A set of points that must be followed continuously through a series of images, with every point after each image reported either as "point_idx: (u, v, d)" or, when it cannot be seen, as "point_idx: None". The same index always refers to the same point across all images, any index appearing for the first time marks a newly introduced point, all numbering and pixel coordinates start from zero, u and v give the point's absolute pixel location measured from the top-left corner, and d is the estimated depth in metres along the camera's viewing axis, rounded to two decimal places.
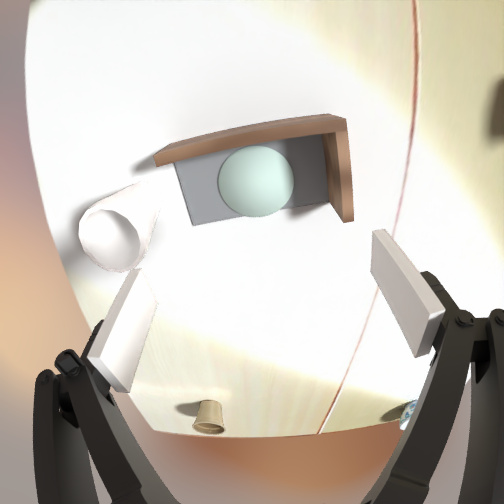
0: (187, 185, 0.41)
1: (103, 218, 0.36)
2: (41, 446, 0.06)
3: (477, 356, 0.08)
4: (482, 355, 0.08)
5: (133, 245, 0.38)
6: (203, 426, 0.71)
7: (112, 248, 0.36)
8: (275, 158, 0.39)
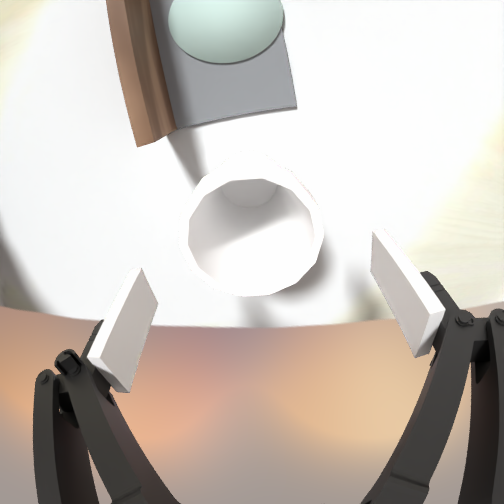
0: (227, 108, 0.25)
1: (243, 245, 0.25)
2: (41, 446, 0.06)
3: (477, 356, 0.08)
4: (482, 355, 0.08)
5: (295, 203, 0.22)
6: None
7: (290, 241, 0.22)
8: None
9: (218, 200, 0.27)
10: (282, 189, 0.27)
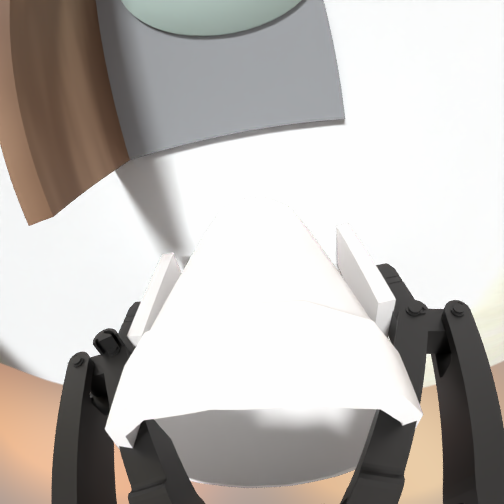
0: (216, 119, 0.13)
1: None
2: (65, 432, 0.07)
3: (433, 347, 0.09)
4: (439, 347, 0.09)
5: None
6: None
7: None
8: None
9: None
10: None
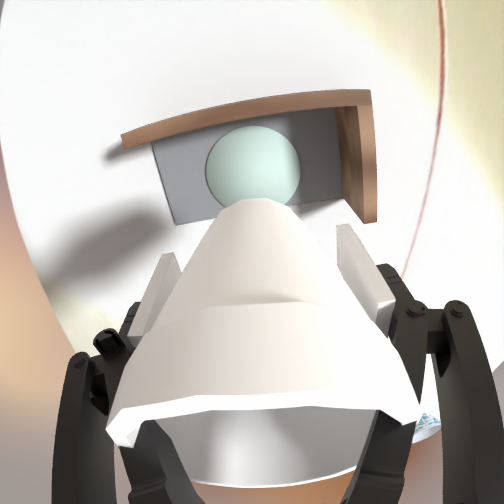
0: (168, 175, 0.33)
1: None
2: (64, 432, 0.07)
3: (433, 347, 0.09)
4: (439, 347, 0.09)
5: None
6: None
7: None
8: (277, 142, 0.30)
9: None
10: None
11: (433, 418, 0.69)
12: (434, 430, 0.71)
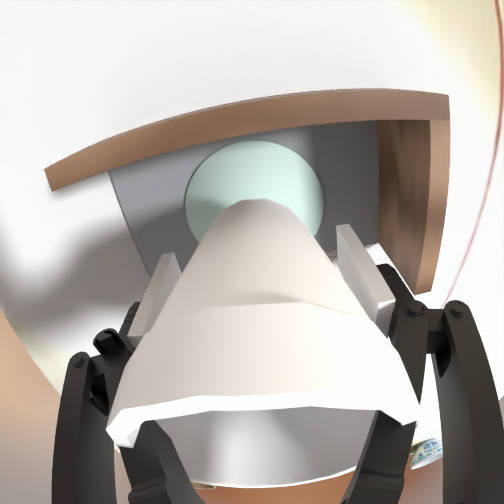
0: (133, 213, 0.23)
1: None
2: (65, 432, 0.07)
3: (433, 347, 0.09)
4: (439, 347, 0.09)
5: None
6: None
7: None
8: (292, 165, 0.20)
9: None
10: None
11: None
12: (442, 454, 0.62)
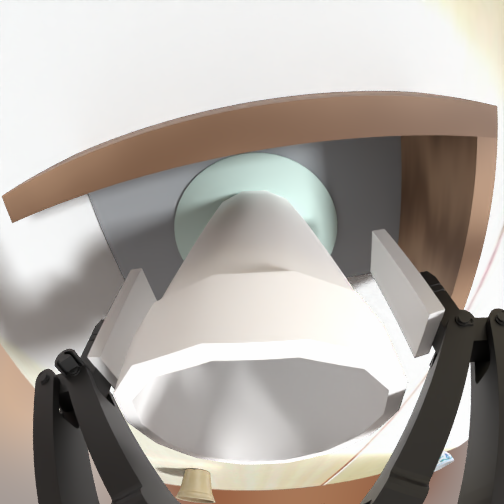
0: (116, 237, 0.19)
1: (246, 362, 0.14)
2: (41, 446, 0.06)
3: (476, 356, 0.08)
4: (482, 355, 0.08)
5: None
6: None
7: (326, 375, 0.12)
8: (301, 183, 0.17)
9: None
10: None
11: (445, 454, 0.55)
12: (444, 463, 0.58)
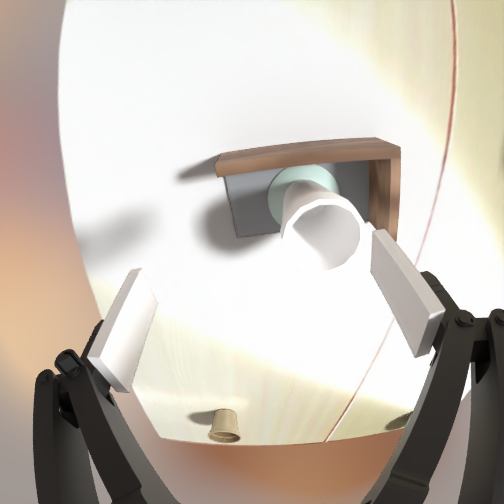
0: (235, 197, 0.42)
1: (307, 244, 0.37)
2: (41, 446, 0.06)
3: (477, 356, 0.08)
4: (482, 355, 0.08)
5: (343, 218, 0.34)
6: (217, 435, 0.70)
7: (340, 242, 0.34)
8: (325, 177, 0.40)
9: None
10: (330, 207, 0.39)
11: None
12: None
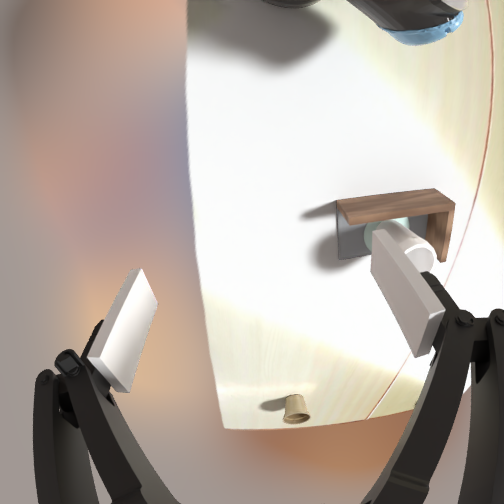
0: (343, 231, 0.55)
1: None
2: (41, 446, 0.06)
3: (477, 356, 0.08)
4: (482, 355, 0.08)
5: (419, 249, 0.48)
6: (289, 418, 0.85)
7: (417, 265, 0.48)
8: None
9: None
10: None
11: None
12: None
